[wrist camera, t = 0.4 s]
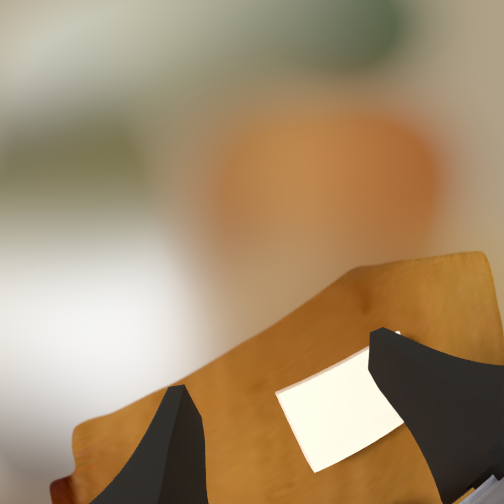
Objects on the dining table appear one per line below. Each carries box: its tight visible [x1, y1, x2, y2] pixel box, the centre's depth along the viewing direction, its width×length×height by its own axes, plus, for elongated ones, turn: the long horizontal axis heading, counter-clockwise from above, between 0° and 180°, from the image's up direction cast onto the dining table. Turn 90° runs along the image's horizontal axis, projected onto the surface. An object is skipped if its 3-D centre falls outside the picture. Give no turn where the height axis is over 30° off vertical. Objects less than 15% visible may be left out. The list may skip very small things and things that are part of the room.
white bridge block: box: [275, 331, 404, 473], centre depth 32 cm, size 12×18×6 cm, turn 112°
